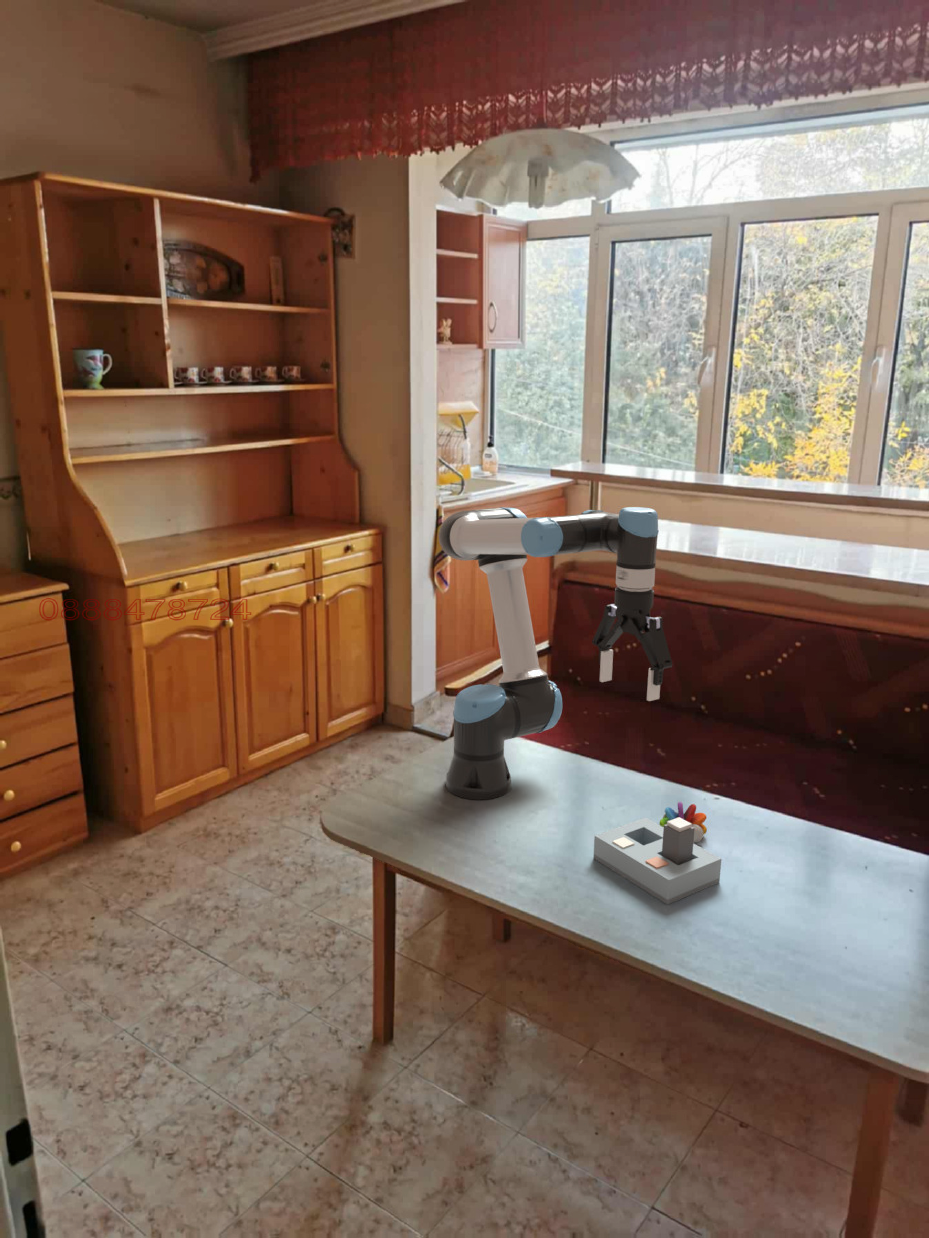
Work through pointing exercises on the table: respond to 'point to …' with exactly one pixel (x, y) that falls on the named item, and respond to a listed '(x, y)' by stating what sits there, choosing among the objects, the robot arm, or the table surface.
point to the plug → (678, 841)
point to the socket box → (654, 861)
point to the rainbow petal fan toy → (687, 819)
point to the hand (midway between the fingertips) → (628, 690)
